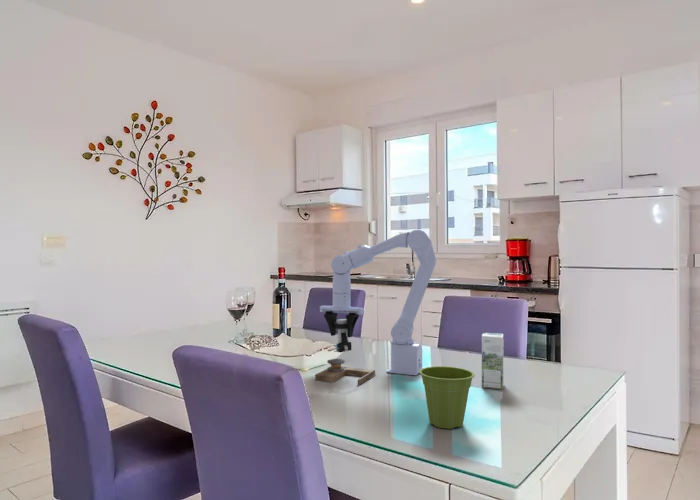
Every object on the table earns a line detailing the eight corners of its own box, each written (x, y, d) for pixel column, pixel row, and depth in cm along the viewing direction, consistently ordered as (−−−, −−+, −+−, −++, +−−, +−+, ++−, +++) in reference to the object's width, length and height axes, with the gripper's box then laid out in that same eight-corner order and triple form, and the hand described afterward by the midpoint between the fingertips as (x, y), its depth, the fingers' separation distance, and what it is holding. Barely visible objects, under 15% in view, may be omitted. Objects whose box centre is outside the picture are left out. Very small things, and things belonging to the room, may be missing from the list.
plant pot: (482, 433, 103) (482, 378, 103) (426, 434, 102) (426, 379, 102) (464, 413, 115) (464, 365, 115) (414, 415, 114) (414, 366, 114)
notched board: (375, 375, 149) (375, 361, 149) (359, 385, 138) (359, 370, 138) (333, 370, 155) (333, 357, 155) (315, 379, 144) (315, 365, 144)
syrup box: (503, 384, 139) (503, 332, 139) (503, 390, 134) (503, 336, 134) (482, 382, 141) (482, 331, 141) (481, 388, 136) (481, 335, 136)
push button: (339, 354, 154) (338, 322, 154) (328, 352, 158) (327, 320, 157) (355, 350, 158) (354, 319, 158) (344, 348, 162) (342, 317, 162)
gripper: (315, 293, 157) (315, 336, 157) (357, 295, 151) (357, 340, 151) (325, 291, 163) (325, 332, 163) (366, 293, 157) (366, 336, 157)
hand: (341, 336), depth 158 cm, fingers closed on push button, 5 cm apart
